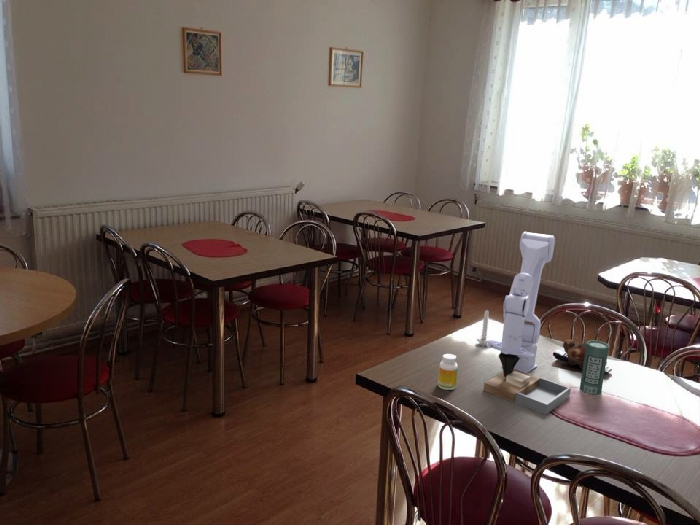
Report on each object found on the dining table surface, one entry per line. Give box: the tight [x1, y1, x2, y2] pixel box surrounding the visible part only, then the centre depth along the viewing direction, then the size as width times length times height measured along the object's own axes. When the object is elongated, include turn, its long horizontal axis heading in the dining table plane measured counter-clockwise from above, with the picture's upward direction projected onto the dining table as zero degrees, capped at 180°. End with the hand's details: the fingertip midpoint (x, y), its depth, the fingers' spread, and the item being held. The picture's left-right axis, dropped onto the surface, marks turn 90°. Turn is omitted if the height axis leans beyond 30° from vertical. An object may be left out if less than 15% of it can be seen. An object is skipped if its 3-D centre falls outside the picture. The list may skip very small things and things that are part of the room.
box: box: [514, 376, 572, 415], centre depth 180 cm, size 15×10×3 cm, turn 137°
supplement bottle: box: [437, 353, 459, 391], centre depth 185 cm, size 5×5×10 cm
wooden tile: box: [506, 371, 530, 387], centre depth 185 cm, size 5×5×2 cm
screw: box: [476, 309, 491, 347], centre depth 217 cm, size 13×5×5 cm
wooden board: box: [483, 369, 540, 403], centre depth 187 cm, size 16×10×2 cm, turn 137°
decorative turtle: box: [562, 339, 608, 370], centre depth 204 cm, size 10×15×8 cm, turn 46°
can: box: [579, 339, 610, 396], centre depth 186 cm, size 6×6×15 cm
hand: (507, 376), depth 187 cm, fingers closed
